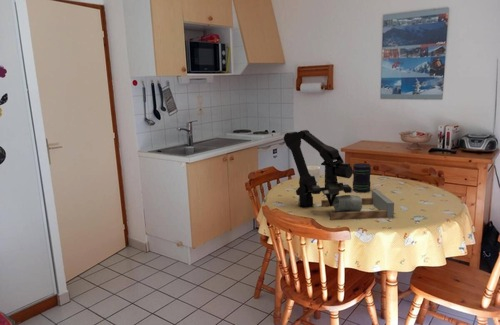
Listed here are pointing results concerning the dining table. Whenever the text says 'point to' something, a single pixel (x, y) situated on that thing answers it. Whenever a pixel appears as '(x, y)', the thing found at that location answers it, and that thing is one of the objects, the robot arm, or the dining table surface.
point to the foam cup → (314, 172)
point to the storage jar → (361, 177)
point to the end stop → (383, 203)
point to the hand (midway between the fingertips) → (330, 206)
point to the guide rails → (356, 214)
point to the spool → (347, 203)
